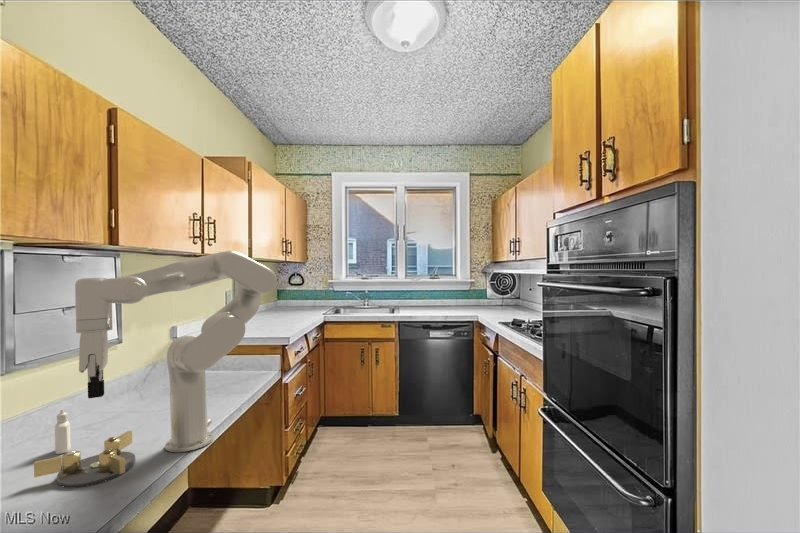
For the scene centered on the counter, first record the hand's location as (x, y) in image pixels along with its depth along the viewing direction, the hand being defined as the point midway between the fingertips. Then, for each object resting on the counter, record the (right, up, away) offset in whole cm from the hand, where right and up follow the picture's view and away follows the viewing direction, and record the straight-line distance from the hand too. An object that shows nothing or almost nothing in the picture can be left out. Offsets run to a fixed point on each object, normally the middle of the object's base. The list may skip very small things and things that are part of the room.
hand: (96, 396), depth 104 cm
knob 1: (-6, -18, -4) cm, 19 cm away
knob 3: (+7, -17, -4) cm, 19 cm away
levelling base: (+1, -19, 0) cm, 19 cm away
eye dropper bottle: (-20, -20, +13) cm, 31 cm away
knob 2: (+1, -18, +8) cm, 19 cm away
